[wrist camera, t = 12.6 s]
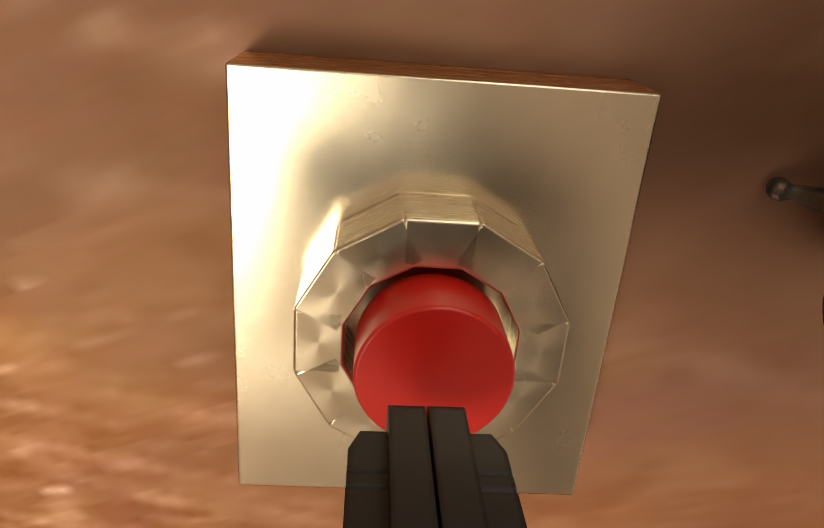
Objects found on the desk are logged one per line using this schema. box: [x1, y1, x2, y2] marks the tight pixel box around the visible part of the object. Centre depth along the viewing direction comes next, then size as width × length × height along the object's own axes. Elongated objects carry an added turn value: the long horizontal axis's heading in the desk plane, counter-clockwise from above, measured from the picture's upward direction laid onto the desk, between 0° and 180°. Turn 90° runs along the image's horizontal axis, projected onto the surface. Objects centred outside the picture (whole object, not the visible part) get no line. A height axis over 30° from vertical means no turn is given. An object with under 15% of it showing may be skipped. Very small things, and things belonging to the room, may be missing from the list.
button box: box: [225, 51, 661, 495], centre depth 18 cm, size 12×10×4 cm
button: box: [353, 274, 515, 434], centre depth 16 cm, size 4×4×2 cm
